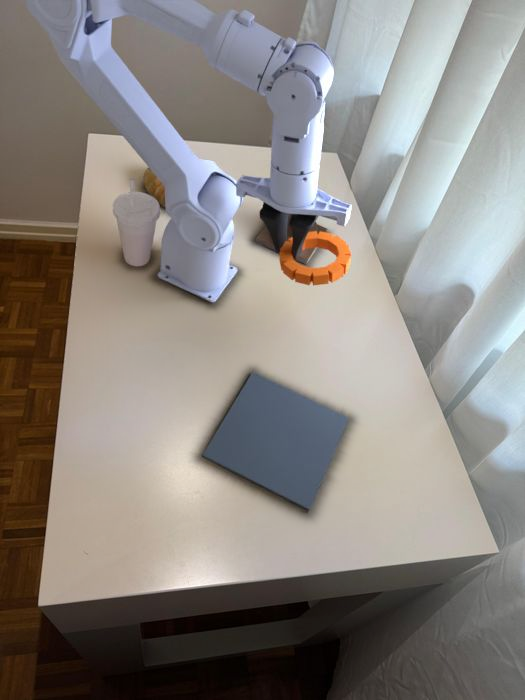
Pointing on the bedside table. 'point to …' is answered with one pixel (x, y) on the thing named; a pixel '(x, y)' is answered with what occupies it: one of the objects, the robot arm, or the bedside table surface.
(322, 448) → the mat
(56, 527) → the bedside table surface
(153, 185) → the pastry
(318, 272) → the ring
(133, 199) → the smoothie
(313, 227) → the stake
